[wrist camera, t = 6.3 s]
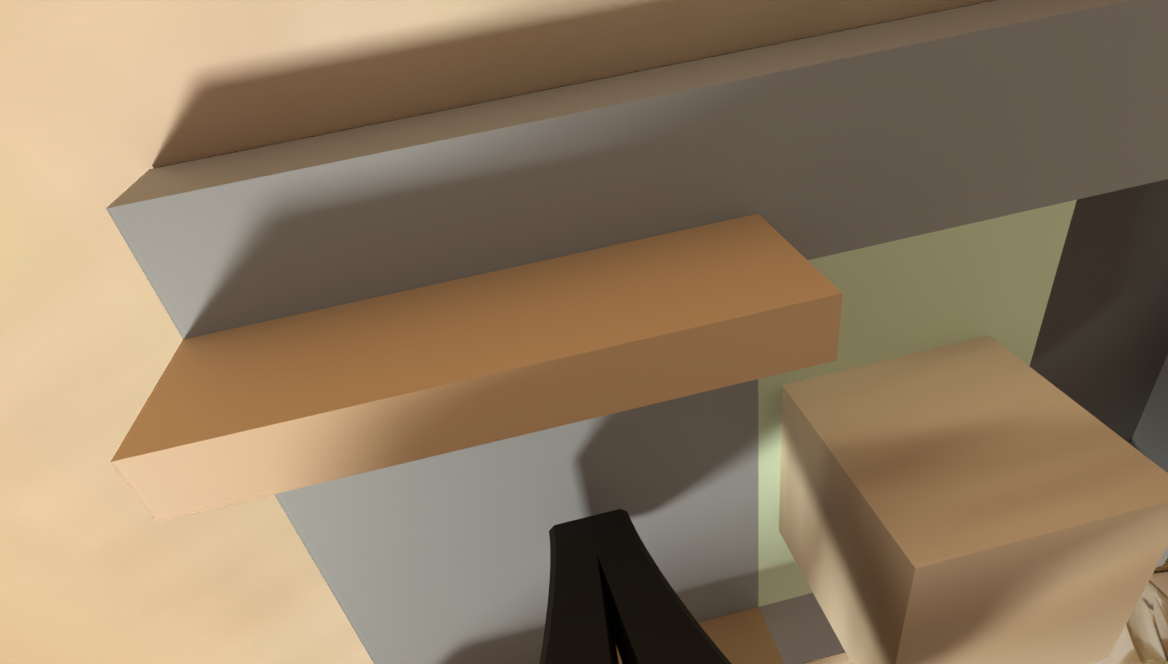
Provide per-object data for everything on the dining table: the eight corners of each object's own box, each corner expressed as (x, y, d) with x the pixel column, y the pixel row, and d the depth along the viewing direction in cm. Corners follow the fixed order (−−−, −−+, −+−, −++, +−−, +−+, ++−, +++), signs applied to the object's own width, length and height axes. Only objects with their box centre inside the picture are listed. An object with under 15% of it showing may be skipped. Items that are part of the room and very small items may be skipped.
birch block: (954, 486, 14) (1107, 657, 11) (778, 530, 14) (883, 721, 11) (989, 335, 12) (1194, 494, 9) (782, 385, 12) (915, 568, 9)
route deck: (1115, 523, 19) (1257, 651, 16) (433, 704, 18) (432, 886, 14) (1386, -79, 11) (1799, -72, 8) (149, 168, 10) (-7, 309, 6)
